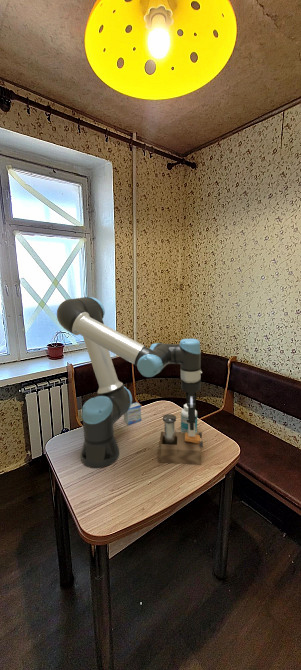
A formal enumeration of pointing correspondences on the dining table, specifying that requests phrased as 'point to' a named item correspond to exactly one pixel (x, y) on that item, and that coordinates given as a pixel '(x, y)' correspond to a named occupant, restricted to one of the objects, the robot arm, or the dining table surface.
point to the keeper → (192, 438)
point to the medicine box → (133, 414)
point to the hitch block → (180, 450)
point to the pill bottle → (184, 419)
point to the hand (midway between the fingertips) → (191, 435)
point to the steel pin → (169, 428)
